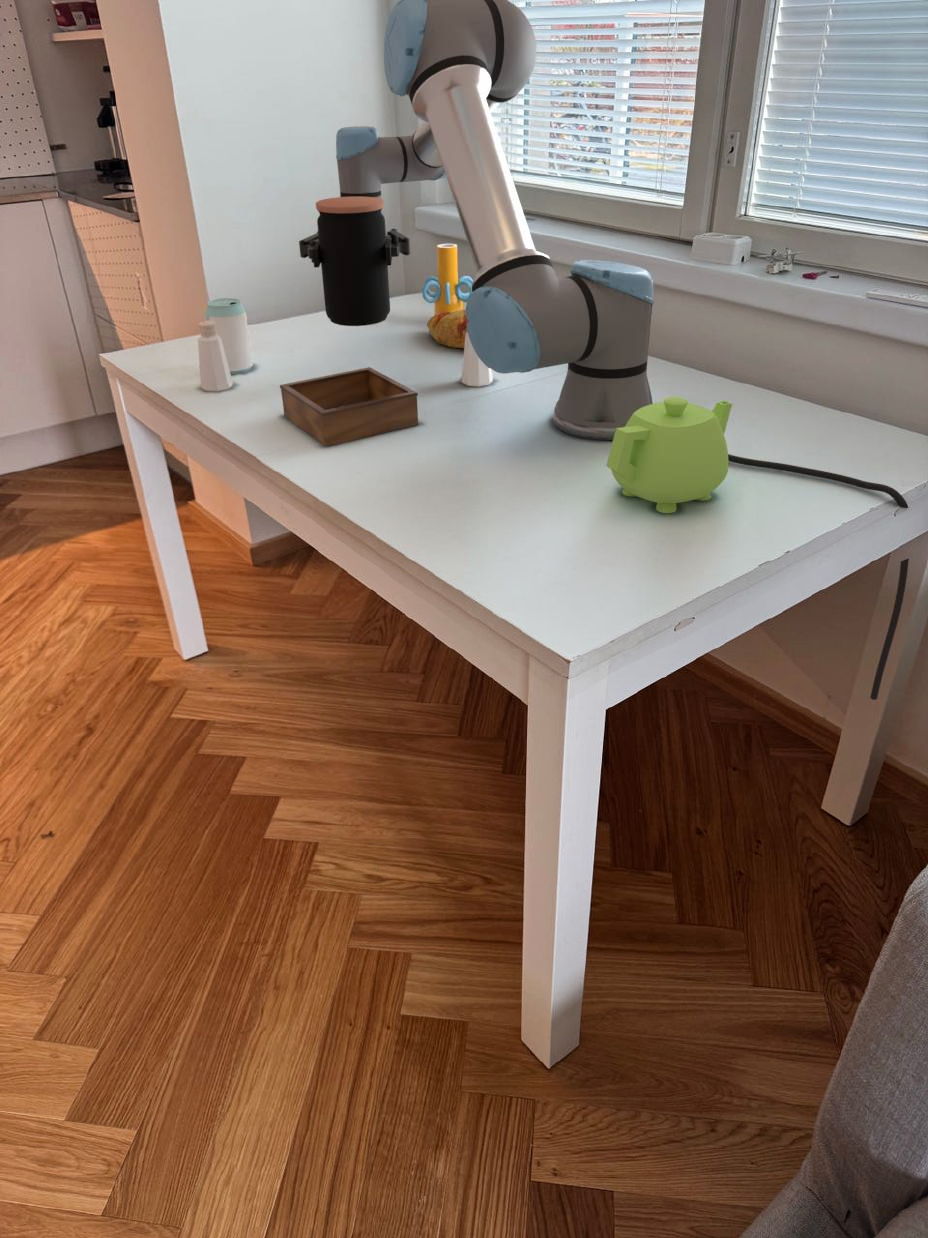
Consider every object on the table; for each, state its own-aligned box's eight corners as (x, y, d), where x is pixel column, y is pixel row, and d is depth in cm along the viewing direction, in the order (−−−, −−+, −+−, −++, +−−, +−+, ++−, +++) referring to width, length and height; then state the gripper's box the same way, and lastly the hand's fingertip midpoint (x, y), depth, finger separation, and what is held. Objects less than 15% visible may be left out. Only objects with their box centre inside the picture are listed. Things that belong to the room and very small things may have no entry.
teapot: (684, 459, 131) (694, 370, 124) (760, 491, 121) (775, 396, 114) (573, 496, 121) (578, 401, 114) (646, 533, 112) (656, 432, 105)
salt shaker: (232, 380, 165) (222, 316, 159) (234, 390, 161) (224, 324, 155) (200, 383, 164) (189, 319, 158) (201, 393, 159) (190, 327, 154)
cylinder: (474, 328, 191) (473, 251, 183) (422, 329, 191) (419, 251, 183) (474, 313, 201) (473, 239, 193) (426, 314, 201) (423, 240, 193)
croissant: (419, 351, 190) (402, 318, 184) (452, 319, 192) (436, 286, 186) (488, 372, 175) (471, 338, 170) (523, 338, 178) (508, 303, 172)
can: (242, 361, 175) (233, 294, 169) (260, 369, 170) (251, 301, 164) (207, 368, 171) (196, 301, 165) (224, 377, 167) (213, 308, 160)
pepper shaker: (480, 388, 158) (479, 322, 153) (455, 383, 161) (453, 318, 155) (499, 380, 162) (499, 315, 156) (473, 375, 165) (473, 311, 159)
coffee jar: (391, 309, 161) (385, 195, 151) (389, 326, 152) (382, 205, 142) (329, 311, 161) (318, 196, 151) (323, 328, 152) (311, 207, 142)
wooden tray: (419, 424, 145) (417, 392, 142) (325, 446, 138) (322, 413, 135) (372, 397, 156) (369, 366, 153) (283, 416, 149) (279, 384, 146)
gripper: (425, 252, 168) (426, 280, 149) (296, 255, 167) (280, 284, 149) (424, 207, 164) (424, 229, 145) (291, 210, 164) (274, 233, 145)
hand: (351, 257), depth 147 cm, fingers closed on coffee jar, 11 cm apart
